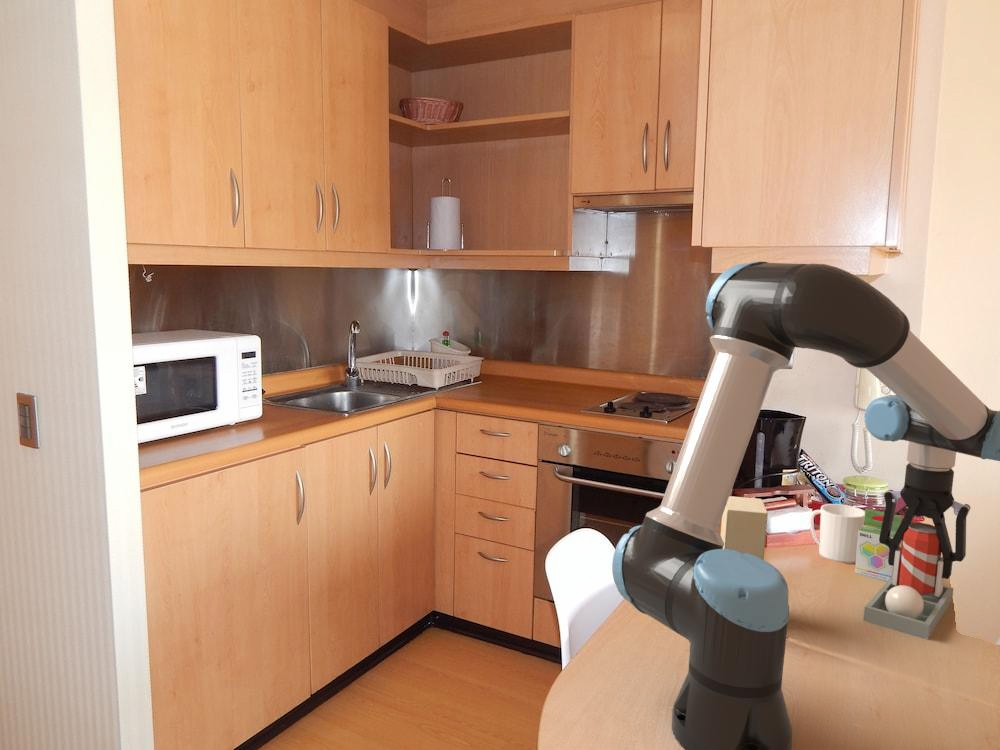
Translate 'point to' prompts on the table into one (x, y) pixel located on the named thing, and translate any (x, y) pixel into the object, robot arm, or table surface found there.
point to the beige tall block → (744, 525)
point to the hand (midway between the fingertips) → (916, 588)
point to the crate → (916, 627)
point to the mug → (838, 531)
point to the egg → (904, 601)
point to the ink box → (874, 548)
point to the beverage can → (919, 558)
